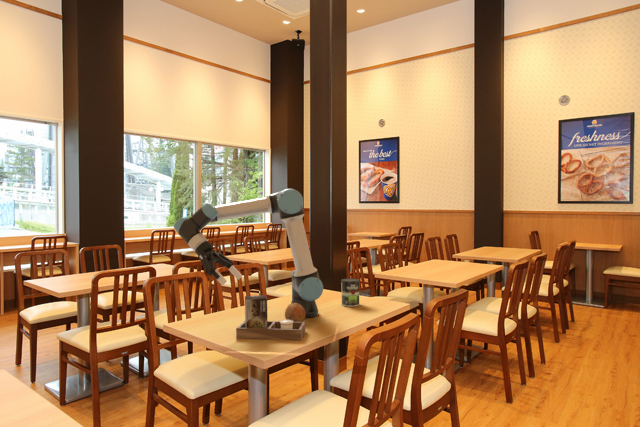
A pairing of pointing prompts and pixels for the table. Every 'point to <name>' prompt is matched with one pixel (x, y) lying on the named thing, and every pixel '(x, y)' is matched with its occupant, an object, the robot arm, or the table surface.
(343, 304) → the coffee can
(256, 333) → the caddy
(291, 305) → the onion
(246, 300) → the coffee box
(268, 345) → the table surface
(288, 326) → the cream jug
